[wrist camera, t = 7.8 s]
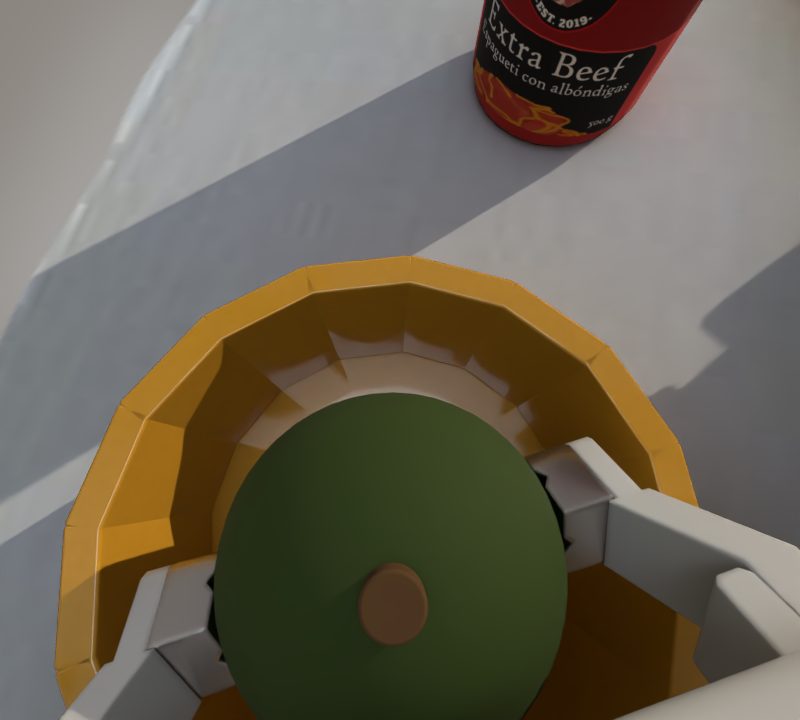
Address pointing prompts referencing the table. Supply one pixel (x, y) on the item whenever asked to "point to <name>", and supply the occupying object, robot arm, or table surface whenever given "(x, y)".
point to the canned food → (570, 62)
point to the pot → (350, 377)
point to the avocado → (390, 569)
